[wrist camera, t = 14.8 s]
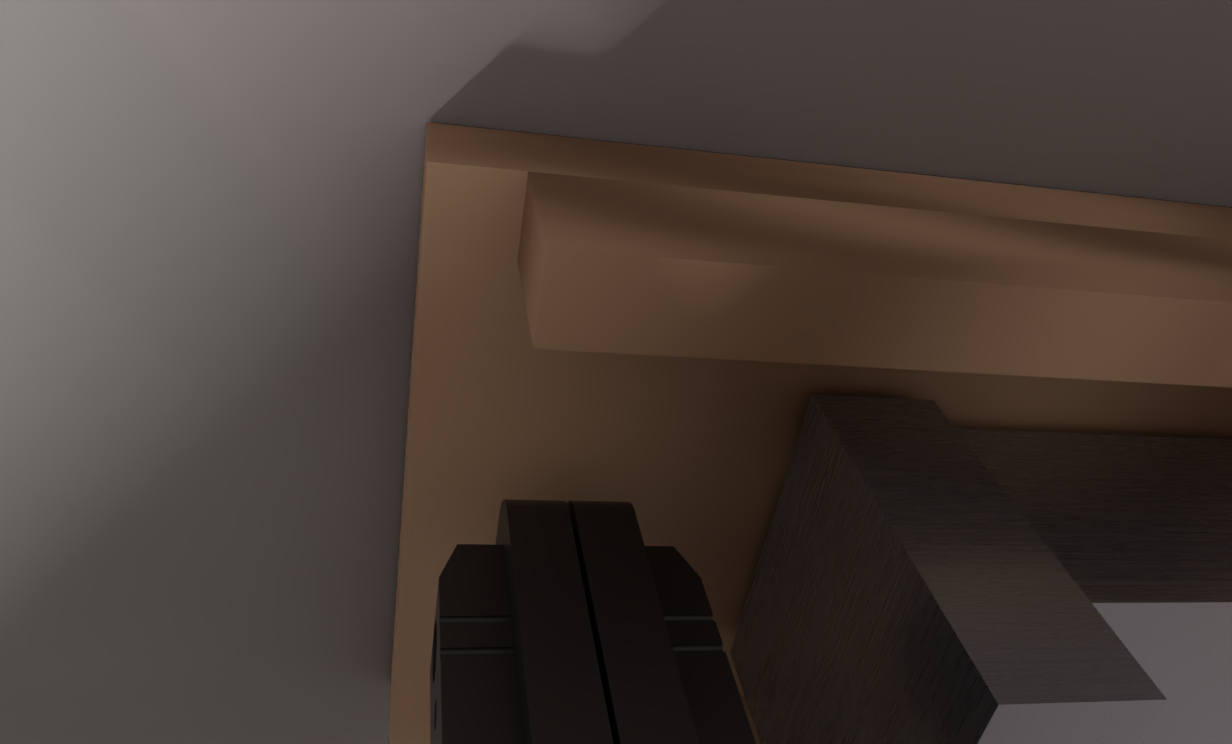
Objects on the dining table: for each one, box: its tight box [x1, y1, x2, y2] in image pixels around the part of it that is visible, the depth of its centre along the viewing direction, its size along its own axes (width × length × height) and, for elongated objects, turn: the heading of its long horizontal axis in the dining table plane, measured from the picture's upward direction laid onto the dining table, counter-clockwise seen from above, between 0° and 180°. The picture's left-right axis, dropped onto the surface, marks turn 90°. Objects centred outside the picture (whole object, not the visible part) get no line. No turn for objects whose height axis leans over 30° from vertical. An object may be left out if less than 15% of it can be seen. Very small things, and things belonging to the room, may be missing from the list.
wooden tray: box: [389, 122, 1232, 744], centre depth 12 cm, size 20×9×8 cm, turn 80°
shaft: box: [730, 394, 1232, 744], centre depth 12 cm, size 8×4×4 cm, turn 80°
